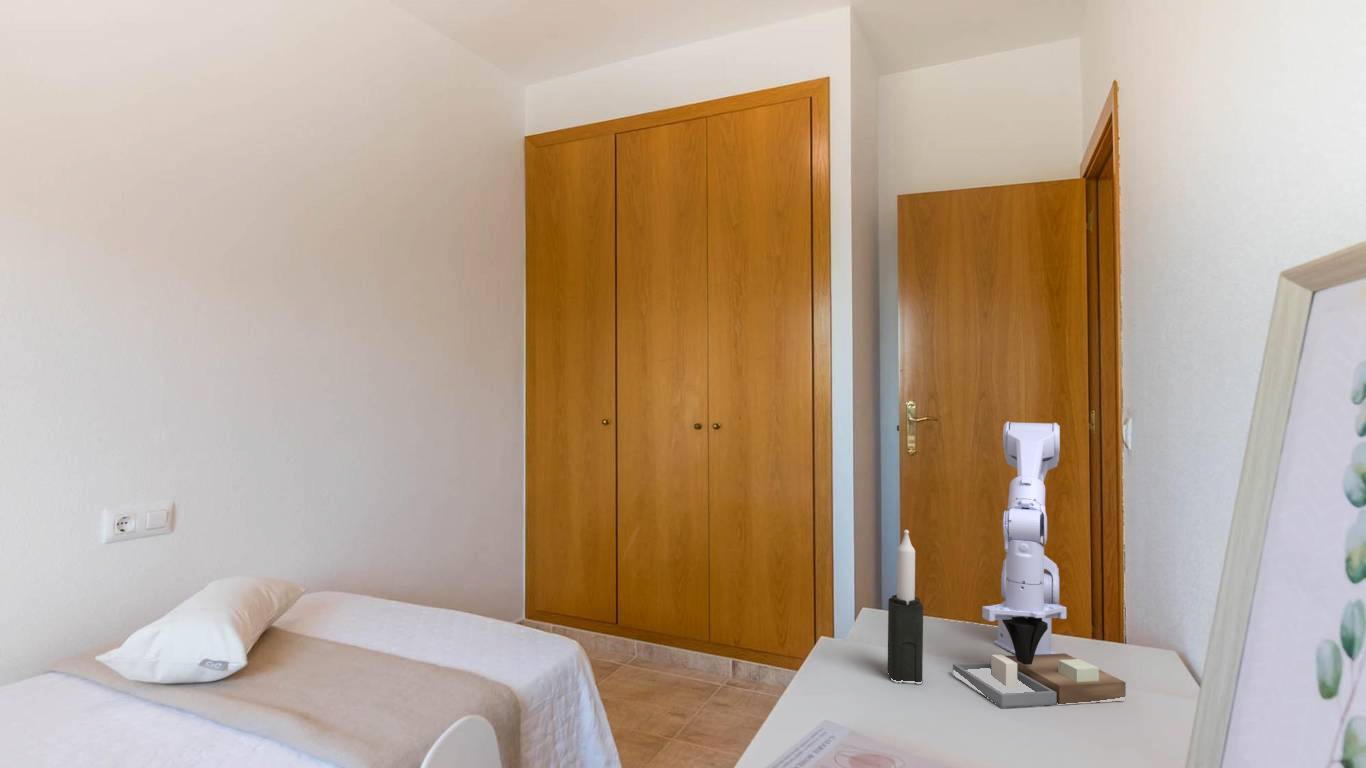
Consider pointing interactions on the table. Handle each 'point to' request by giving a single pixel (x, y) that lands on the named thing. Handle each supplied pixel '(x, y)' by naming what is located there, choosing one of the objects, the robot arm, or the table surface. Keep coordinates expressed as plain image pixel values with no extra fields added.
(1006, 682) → the cream tile
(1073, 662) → the sage tile
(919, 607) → the candle
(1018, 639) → the robot arm
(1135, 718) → the table surface
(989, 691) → the tray
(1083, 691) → the walnut board
